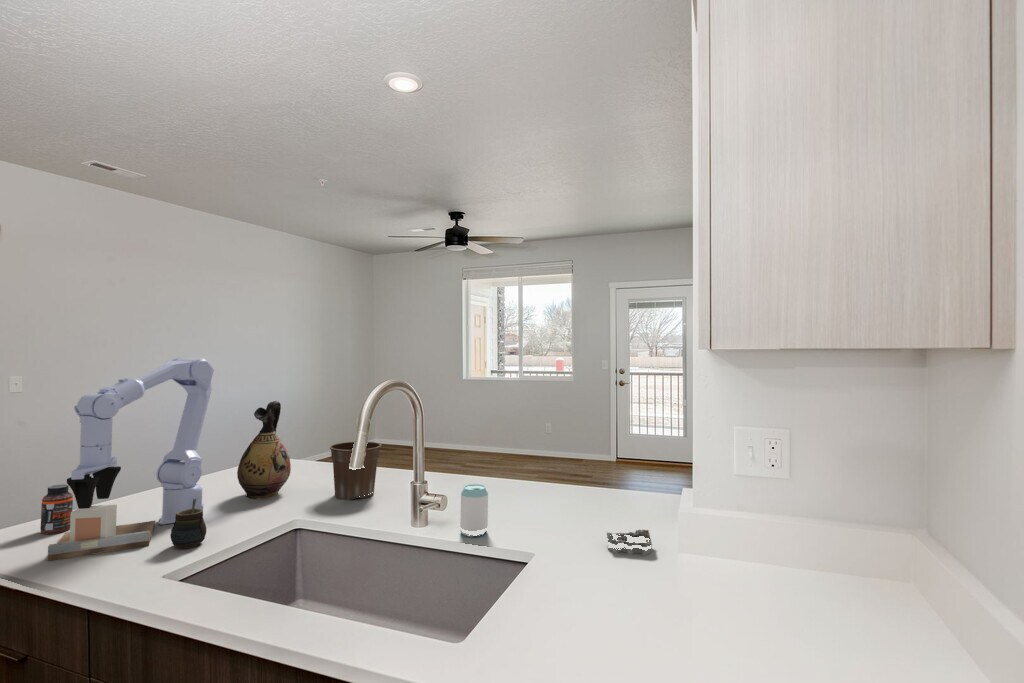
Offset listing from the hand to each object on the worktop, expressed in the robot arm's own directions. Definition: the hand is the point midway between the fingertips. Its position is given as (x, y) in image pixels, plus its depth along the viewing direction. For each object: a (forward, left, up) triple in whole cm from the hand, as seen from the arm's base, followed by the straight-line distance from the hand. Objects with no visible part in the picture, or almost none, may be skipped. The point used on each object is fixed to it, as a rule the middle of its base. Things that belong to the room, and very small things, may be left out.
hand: (94, 503), depth 118 cm
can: (-82, +34, -11) cm, 90 cm away
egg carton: (-110, +62, -11) cm, 127 cm away
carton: (0, 0, -9) cm, 9 cm away
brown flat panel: (-2, -4, -10) cm, 11 cm away
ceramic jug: (-39, -30, -11) cm, 50 cm away
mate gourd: (-19, +8, -11) cm, 23 cm away
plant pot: (-64, -16, -11) cm, 67 cm away
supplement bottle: (+10, -19, -11) cm, 24 cm away
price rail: (-2, +4, -9) cm, 10 cm away
